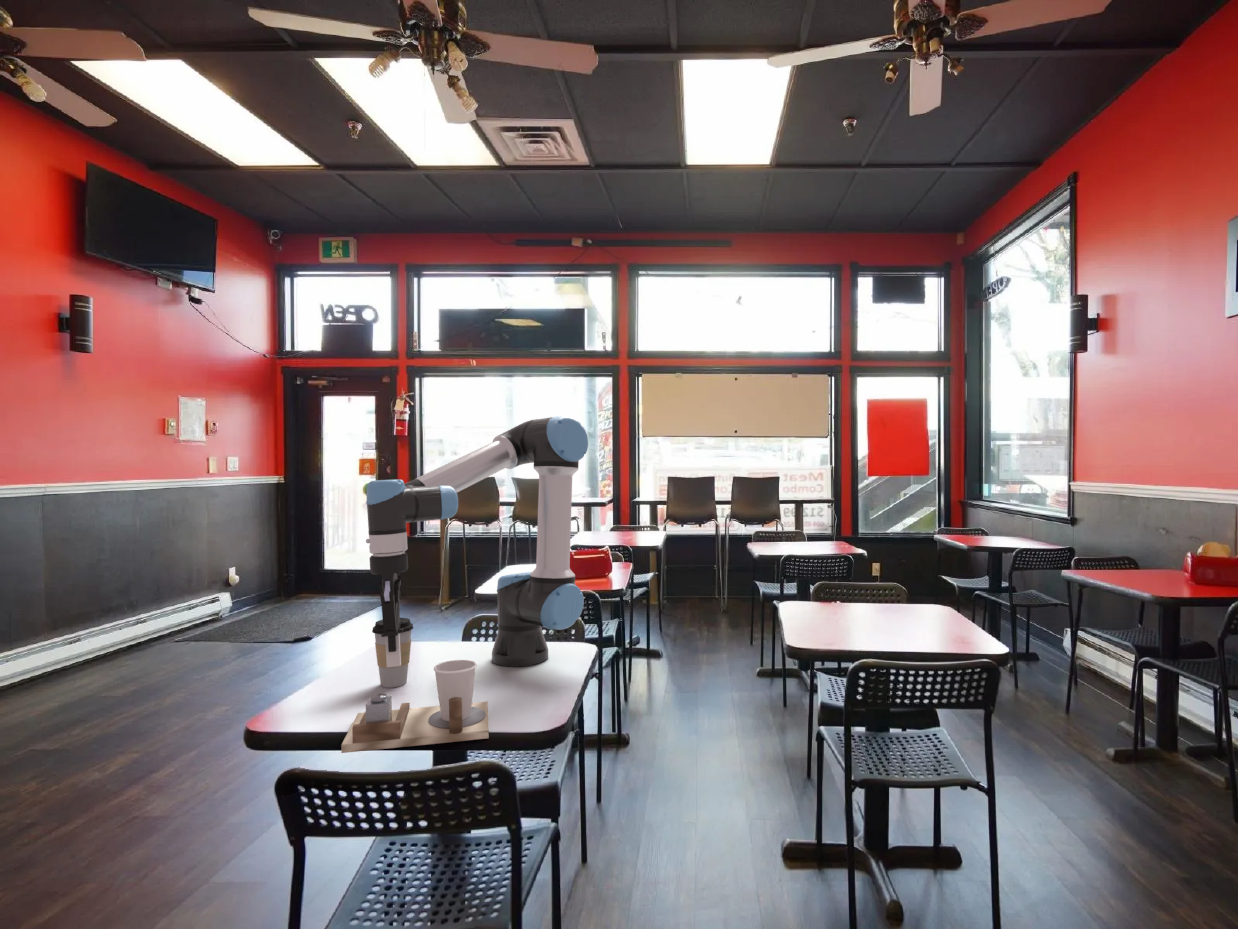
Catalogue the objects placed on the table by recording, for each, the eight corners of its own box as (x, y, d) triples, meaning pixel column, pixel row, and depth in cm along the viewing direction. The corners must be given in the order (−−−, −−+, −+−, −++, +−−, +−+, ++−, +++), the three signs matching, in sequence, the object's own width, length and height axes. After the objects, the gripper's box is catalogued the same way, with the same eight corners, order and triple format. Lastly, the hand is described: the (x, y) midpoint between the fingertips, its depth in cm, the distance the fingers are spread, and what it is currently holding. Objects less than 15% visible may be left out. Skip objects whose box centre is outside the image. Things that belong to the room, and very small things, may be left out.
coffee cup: (401, 691, 149) (400, 626, 149) (364, 689, 151) (363, 625, 151) (421, 678, 158) (420, 617, 159) (386, 676, 160) (386, 616, 160)
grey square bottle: (391, 727, 122) (391, 691, 123) (389, 736, 119) (388, 699, 119) (369, 729, 122) (369, 693, 122) (366, 738, 118) (365, 700, 118)
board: (487, 708, 137) (487, 672, 137) (488, 738, 121) (488, 698, 121) (358, 720, 131) (357, 683, 132) (341, 753, 115) (340, 711, 116)
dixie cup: (439, 727, 122) (438, 673, 122) (430, 713, 130) (429, 663, 130) (482, 718, 126) (481, 667, 126) (471, 706, 133) (470, 657, 134)
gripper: (374, 550, 140) (379, 658, 140) (364, 559, 127) (370, 677, 127) (410, 548, 142) (415, 654, 142) (404, 556, 129) (409, 673, 129)
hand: (393, 665), depth 135 cm, fingers closed
